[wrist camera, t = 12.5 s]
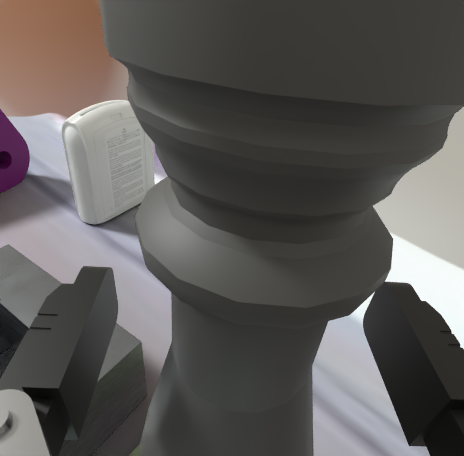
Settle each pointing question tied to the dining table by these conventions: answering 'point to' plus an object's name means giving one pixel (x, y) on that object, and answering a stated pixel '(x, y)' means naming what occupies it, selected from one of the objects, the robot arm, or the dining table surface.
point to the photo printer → (107, 160)
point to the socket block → (114, 366)
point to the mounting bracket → (11, 155)
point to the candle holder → (272, 189)
